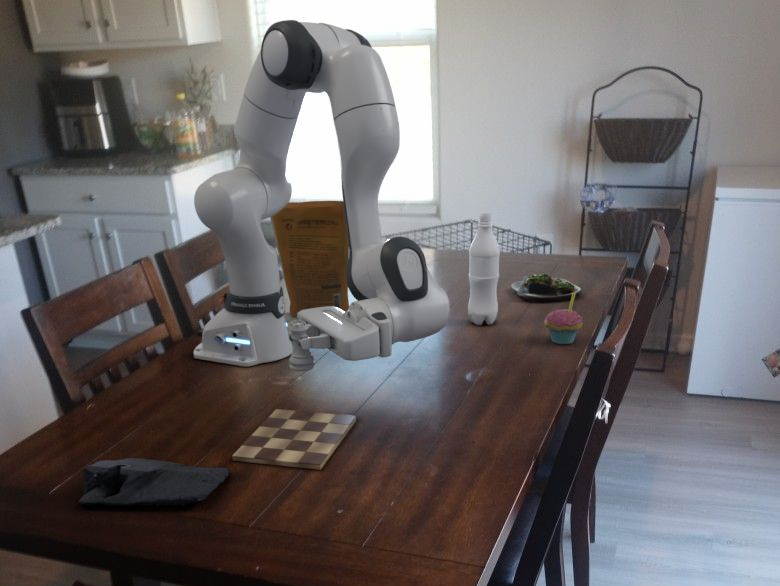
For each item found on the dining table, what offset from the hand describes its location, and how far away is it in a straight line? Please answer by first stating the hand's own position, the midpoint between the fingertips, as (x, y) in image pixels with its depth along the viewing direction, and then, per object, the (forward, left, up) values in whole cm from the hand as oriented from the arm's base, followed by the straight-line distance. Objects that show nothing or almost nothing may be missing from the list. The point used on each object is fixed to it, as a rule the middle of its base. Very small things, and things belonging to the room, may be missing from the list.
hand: (295, 340), depth 143 cm
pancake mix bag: (-21, +66, -18) cm, 71 cm away
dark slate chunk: (-17, -24, -18) cm, 34 cm away
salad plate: (+32, +95, -18) cm, 102 cm away
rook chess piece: (+1, +1, -5) cm, 5 cm away
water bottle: (+20, +69, -18) cm, 74 cm away
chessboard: (-1, -2, -18) cm, 18 cm away
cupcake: (+40, +59, -18) cm, 74 cm away
